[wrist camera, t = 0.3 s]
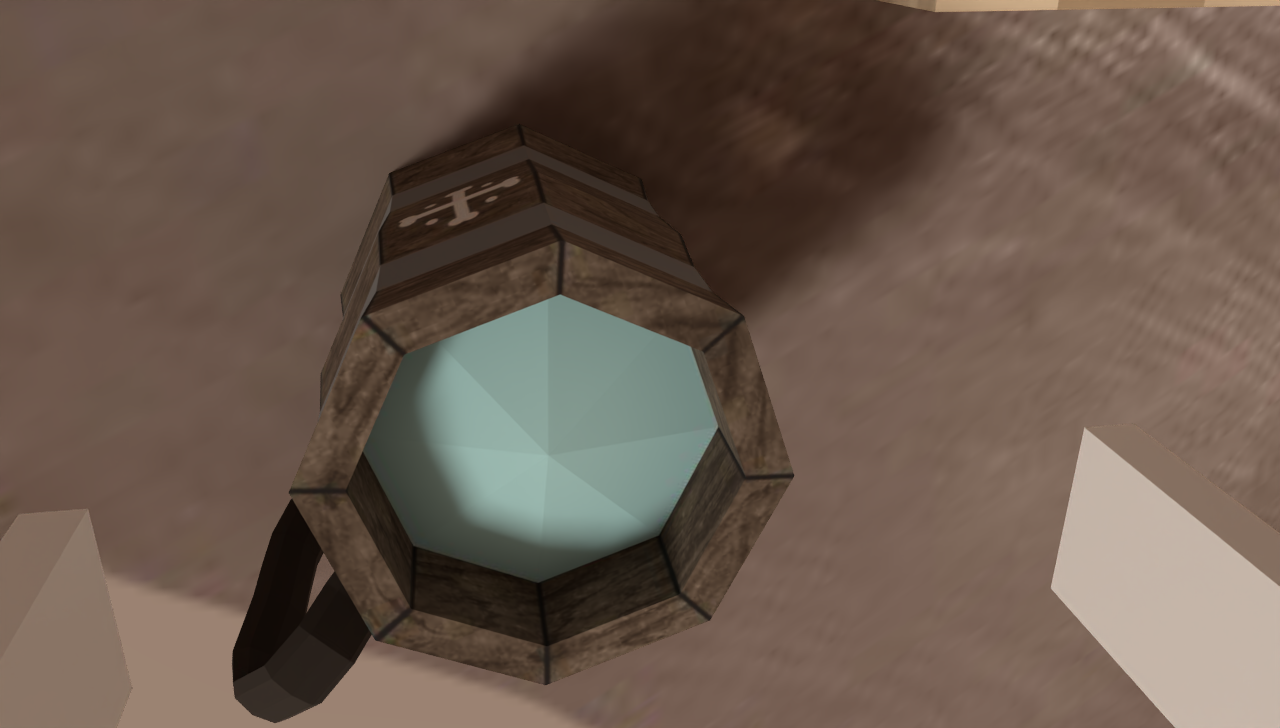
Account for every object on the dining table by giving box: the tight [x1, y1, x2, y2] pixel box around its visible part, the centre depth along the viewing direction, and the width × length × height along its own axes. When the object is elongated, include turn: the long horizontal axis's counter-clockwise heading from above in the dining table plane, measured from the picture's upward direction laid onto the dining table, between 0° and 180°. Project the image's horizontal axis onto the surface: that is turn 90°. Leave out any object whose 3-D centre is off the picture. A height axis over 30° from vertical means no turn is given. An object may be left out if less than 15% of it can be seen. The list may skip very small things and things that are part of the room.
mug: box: [232, 124, 794, 723], centre depth 35 cm, size 20×14×15 cm
